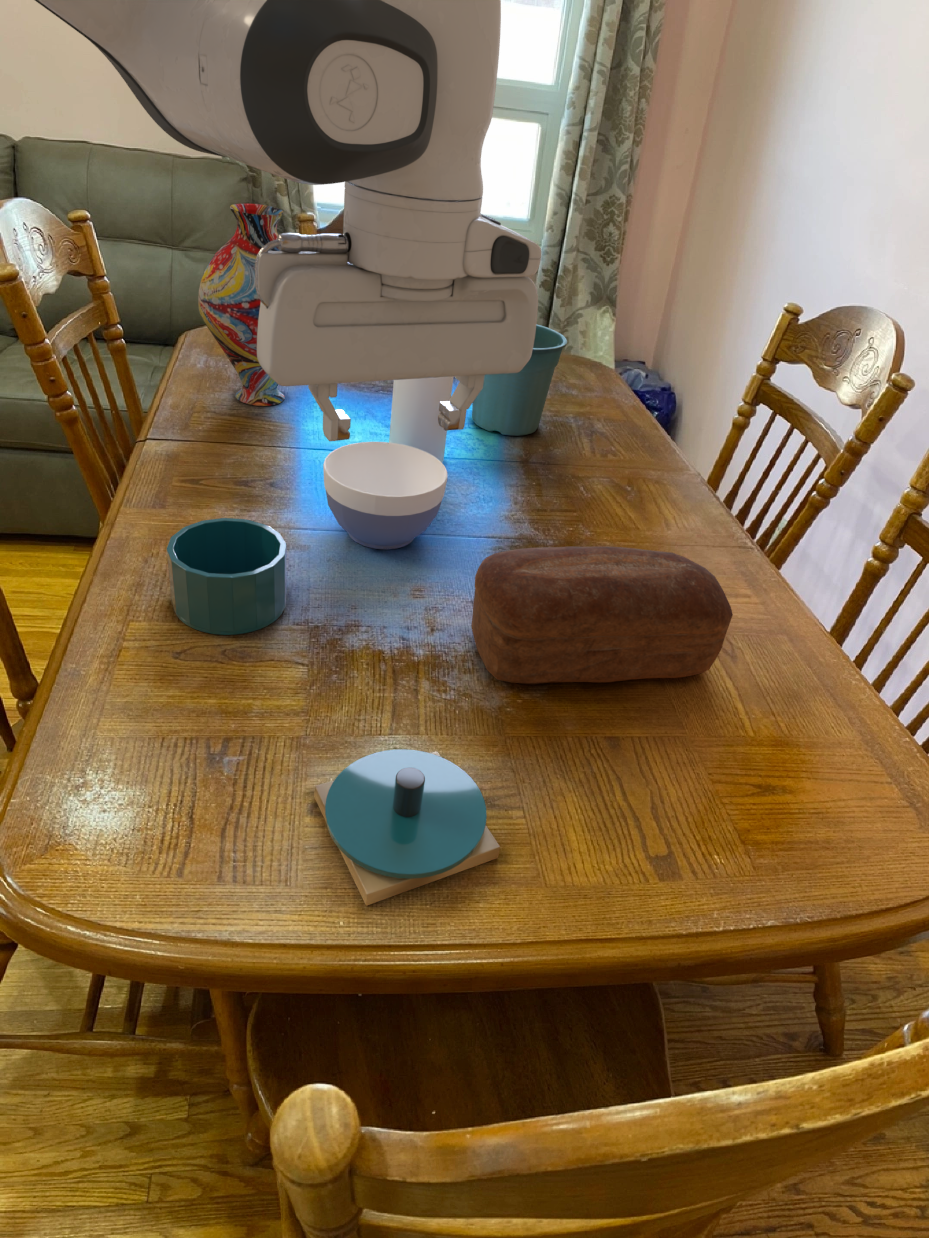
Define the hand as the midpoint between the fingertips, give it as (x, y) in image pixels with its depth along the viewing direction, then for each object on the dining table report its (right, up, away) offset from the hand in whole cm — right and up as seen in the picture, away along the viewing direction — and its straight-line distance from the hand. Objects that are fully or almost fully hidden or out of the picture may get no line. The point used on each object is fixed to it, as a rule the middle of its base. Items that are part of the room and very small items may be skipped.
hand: (395, 432), depth 62 cm
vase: (-30, +25, +82) cm, 90 cm away
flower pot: (+13, +21, +86) cm, 89 cm away
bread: (+19, -18, +32) cm, 42 cm away
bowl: (-6, -3, +49) cm, 49 cm away
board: (0, -32, +9) cm, 33 cm away
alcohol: (-3, +11, +68) cm, 69 cm away
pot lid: (0, -30, +7) cm, 31 cm away
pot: (-21, -12, +32) cm, 40 cm away
